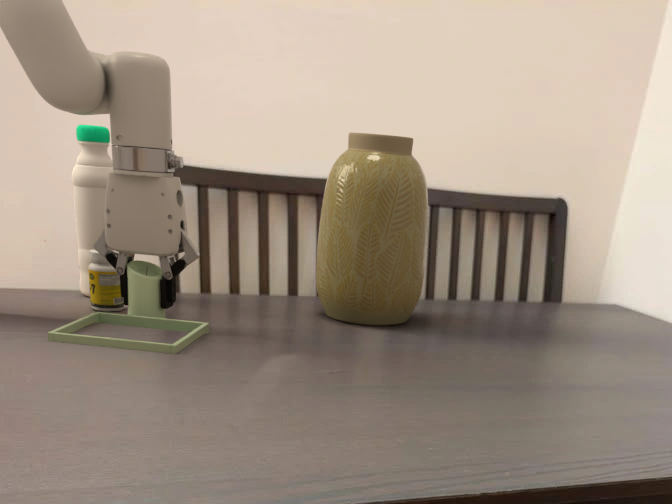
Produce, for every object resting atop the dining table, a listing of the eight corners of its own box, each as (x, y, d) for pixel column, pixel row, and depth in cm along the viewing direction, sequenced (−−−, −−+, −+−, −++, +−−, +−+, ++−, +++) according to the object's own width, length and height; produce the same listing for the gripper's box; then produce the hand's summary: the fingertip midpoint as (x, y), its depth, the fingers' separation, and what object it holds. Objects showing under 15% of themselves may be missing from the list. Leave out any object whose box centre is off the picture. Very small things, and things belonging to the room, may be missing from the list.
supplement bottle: (90, 305, 111) (86, 248, 107) (123, 305, 112) (119, 249, 109) (91, 312, 107) (87, 252, 103) (125, 312, 108) (122, 253, 105)
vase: (294, 316, 115) (301, 127, 104) (343, 302, 129) (354, 135, 118) (393, 334, 109) (412, 135, 98) (434, 317, 123) (454, 142, 112)
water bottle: (81, 290, 121) (68, 123, 111) (125, 291, 123) (117, 127, 113) (79, 298, 115) (66, 122, 105) (126, 299, 117) (117, 127, 107)
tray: (49, 353, 85) (46, 332, 84) (97, 330, 97) (96, 311, 96) (176, 367, 84) (175, 345, 83) (209, 341, 96) (209, 322, 95)
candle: (171, 326, 103) (172, 266, 99) (139, 328, 99) (138, 267, 96) (153, 318, 106) (152, 260, 102) (121, 320, 102) (119, 260, 99)
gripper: (215, 168, 97) (216, 306, 104) (92, 158, 98) (101, 295, 105) (198, 168, 90) (200, 316, 98) (66, 157, 91) (78, 304, 99)
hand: (148, 304), depth 101 cm, fingers closed on candle, 4 cm apart
